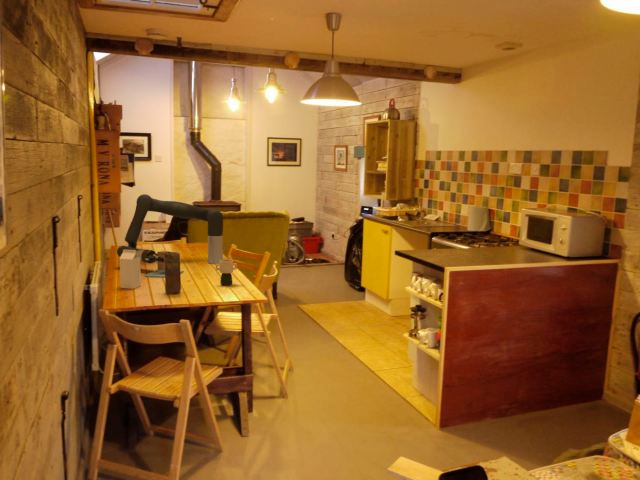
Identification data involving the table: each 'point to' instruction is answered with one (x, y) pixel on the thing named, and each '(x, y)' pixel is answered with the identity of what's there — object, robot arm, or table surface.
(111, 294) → the table surface
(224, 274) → the character mug
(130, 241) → the robot arm
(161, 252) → the walnut block
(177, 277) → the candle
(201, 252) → the table surface
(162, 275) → the slate-blue mat
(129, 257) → the milk carton
